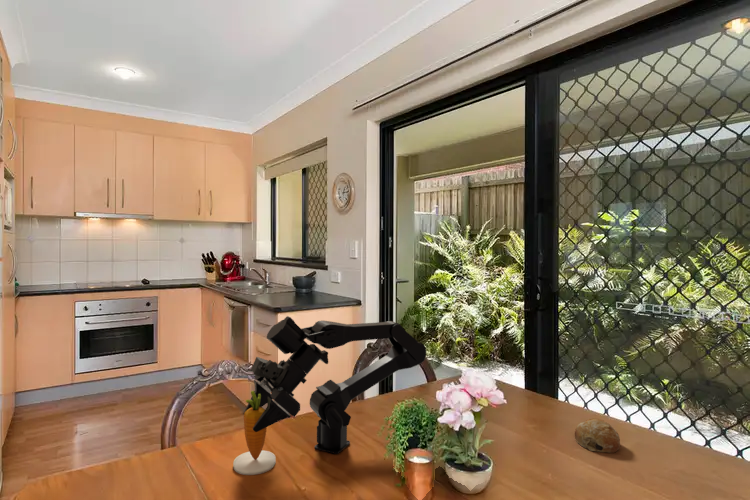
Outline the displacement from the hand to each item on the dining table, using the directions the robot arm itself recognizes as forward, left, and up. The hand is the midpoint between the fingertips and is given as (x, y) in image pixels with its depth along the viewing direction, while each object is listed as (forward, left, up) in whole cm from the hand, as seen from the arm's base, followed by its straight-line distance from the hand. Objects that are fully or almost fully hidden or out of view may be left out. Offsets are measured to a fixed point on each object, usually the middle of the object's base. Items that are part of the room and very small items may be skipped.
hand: (249, 422), depth 97 cm
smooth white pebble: (-1, -1, -9) cm, 10 cm away
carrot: (-1, -1, -9) cm, 9 cm away
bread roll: (-69, -47, -10) cm, 84 cm away
